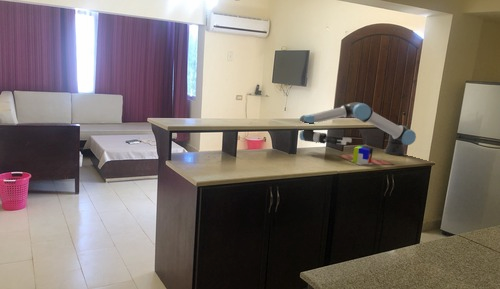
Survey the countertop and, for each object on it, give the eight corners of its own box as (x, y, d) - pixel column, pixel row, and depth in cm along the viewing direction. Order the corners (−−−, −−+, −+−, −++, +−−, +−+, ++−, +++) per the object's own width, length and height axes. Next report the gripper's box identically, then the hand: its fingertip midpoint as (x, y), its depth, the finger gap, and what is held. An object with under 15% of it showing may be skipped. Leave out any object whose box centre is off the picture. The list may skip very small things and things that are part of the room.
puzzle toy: (366, 164, 265) (368, 150, 263) (352, 161, 270) (354, 147, 268) (371, 162, 273) (372, 148, 271) (357, 159, 279) (358, 146, 277)
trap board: (369, 155, 299) (370, 154, 299) (394, 164, 272) (394, 164, 272) (336, 155, 290) (336, 155, 290) (358, 165, 263) (358, 164, 263)
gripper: (325, 140, 298) (353, 144, 288) (313, 145, 277) (343, 149, 267) (326, 131, 297) (354, 134, 287) (314, 134, 275) (344, 138, 265)
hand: (348, 141), depth 277 cm, fingers open, 13 cm apart
